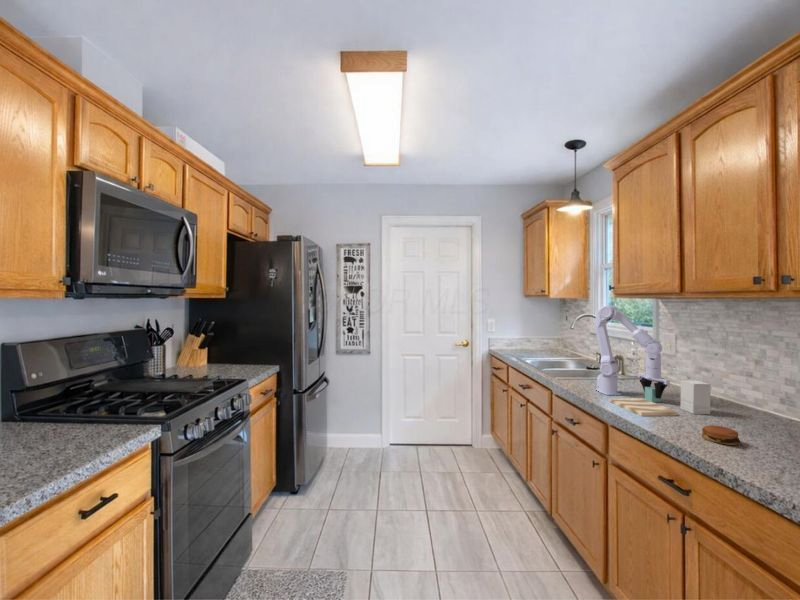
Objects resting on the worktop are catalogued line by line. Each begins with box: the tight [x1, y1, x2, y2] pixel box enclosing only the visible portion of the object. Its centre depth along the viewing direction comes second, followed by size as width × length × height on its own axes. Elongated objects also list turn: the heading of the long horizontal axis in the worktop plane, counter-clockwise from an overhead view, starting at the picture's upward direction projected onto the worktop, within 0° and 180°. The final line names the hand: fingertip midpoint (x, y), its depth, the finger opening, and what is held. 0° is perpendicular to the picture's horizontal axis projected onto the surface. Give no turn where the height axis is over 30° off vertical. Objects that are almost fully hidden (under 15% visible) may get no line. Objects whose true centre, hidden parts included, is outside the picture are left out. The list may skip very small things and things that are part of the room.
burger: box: [701, 424, 741, 446], centre depth 123 cm, size 10×9×5 cm
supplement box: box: [679, 379, 711, 415], centre depth 155 cm, size 7×7×13 cm
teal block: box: [644, 386, 662, 403], centre depth 170 cm, size 4×4×6 cm
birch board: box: [608, 397, 679, 417], centre depth 158 cm, size 20×16×2 cm
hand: (652, 396), depth 170 cm, fingers closed on teal block, 5 cm apart
